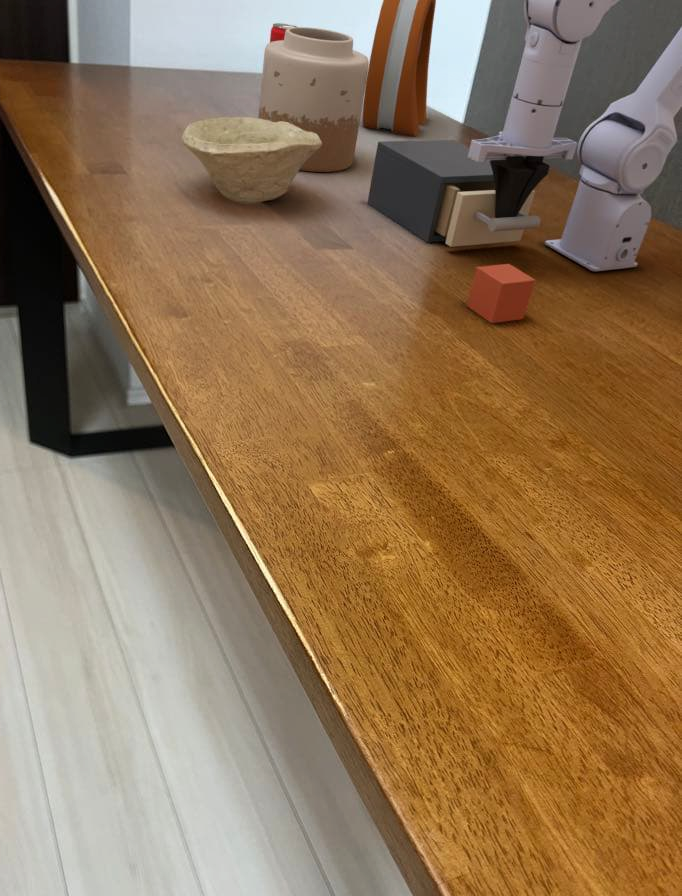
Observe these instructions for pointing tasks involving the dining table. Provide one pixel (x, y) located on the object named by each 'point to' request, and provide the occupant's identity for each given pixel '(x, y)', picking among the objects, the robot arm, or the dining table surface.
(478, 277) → the block
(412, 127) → the orange striped bag
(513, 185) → the robot arm
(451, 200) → the drawer
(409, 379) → the dining table surface
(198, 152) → the bowl
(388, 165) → the cabinet
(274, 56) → the vase
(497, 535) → the dining table surface
